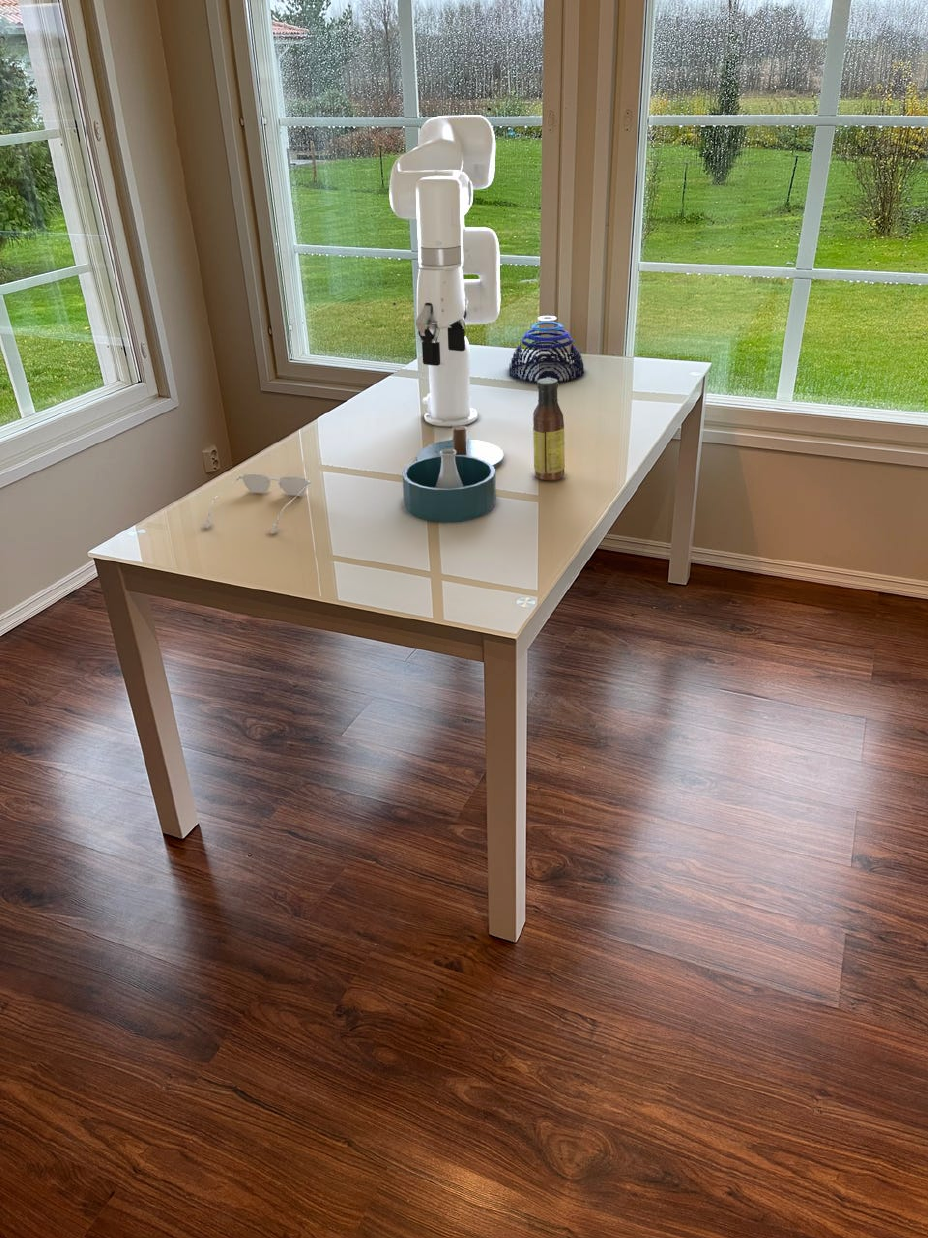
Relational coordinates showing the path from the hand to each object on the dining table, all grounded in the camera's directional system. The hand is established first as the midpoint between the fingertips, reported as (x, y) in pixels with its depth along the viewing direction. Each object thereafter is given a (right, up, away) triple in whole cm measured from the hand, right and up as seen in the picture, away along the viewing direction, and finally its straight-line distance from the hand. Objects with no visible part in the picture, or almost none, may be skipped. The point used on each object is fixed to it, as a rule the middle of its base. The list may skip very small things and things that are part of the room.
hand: (444, 357), depth 169 cm
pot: (+1, -24, +15) cm, 28 cm away
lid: (+3, -12, +33) cm, 36 cm away
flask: (+1, -24, +14) cm, 28 cm away
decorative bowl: (+26, +20, +87) cm, 93 cm away
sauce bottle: (+21, -18, +25) cm, 37 cm away
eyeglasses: (-36, -26, +13) cm, 47 cm away
